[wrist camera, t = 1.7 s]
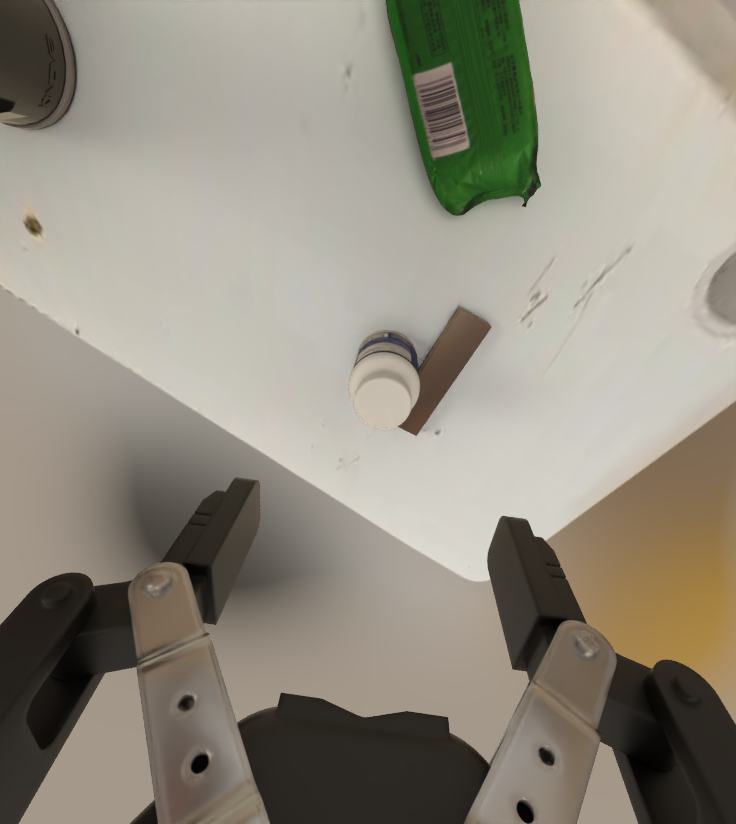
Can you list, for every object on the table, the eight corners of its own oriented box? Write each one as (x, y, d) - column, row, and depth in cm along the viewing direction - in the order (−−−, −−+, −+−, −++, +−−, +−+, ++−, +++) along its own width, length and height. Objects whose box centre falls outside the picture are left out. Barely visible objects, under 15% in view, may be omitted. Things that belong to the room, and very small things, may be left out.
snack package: (436, 230, 31) (442, 233, 26) (370, -34, 24) (363, -91, 20) (530, 195, 29) (554, 192, 25) (485, -95, 23) (508, -172, 18)
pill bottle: (405, 393, 37) (406, 448, 28) (350, 376, 37) (334, 426, 28) (426, 340, 35) (433, 382, 26) (367, 321, 34) (355, 357, 26)
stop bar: (389, 416, 38) (388, 422, 37) (459, 305, 33) (460, 308, 32) (416, 429, 39) (416, 436, 38) (489, 323, 34) (491, 326, 33)
